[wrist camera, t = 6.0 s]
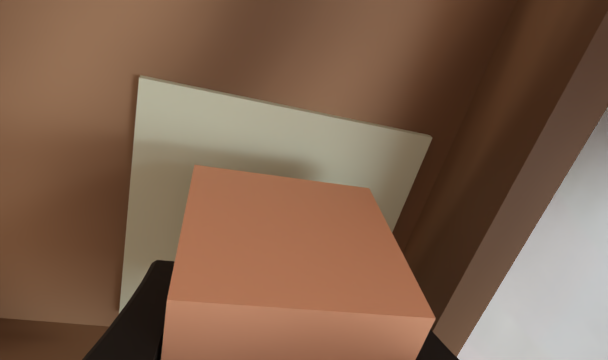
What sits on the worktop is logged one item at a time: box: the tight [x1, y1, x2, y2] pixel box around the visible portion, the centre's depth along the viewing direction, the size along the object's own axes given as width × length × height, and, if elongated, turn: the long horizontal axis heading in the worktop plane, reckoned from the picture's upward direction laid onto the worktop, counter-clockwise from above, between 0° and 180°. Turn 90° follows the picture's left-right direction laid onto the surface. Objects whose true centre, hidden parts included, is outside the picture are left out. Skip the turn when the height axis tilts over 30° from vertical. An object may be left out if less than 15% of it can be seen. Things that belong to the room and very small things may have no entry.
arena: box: [0, 0, 608, 360], centre depth 11 cm, size 16×16×4 cm
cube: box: [161, 165, 436, 360], centre depth 10 cm, size 4×4×4 cm
